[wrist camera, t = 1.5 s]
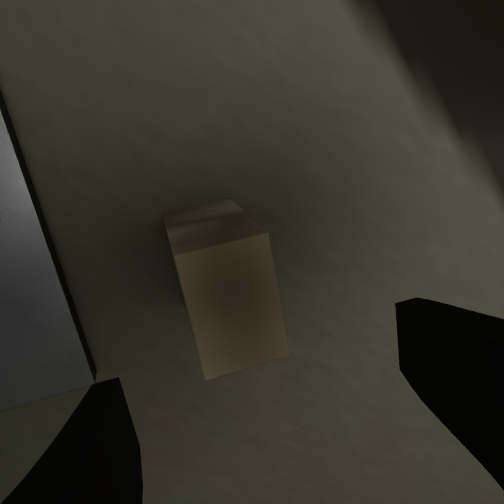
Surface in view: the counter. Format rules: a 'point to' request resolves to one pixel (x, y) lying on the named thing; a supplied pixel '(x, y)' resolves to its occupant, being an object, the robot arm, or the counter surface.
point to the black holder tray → (33, 293)
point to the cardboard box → (227, 286)
